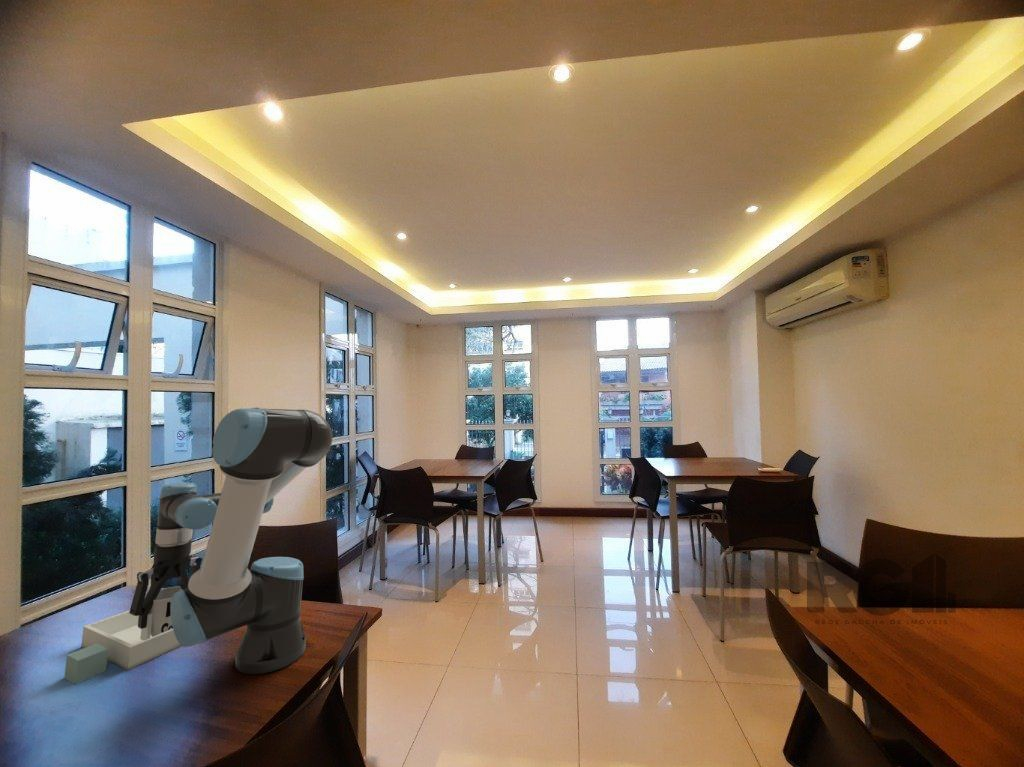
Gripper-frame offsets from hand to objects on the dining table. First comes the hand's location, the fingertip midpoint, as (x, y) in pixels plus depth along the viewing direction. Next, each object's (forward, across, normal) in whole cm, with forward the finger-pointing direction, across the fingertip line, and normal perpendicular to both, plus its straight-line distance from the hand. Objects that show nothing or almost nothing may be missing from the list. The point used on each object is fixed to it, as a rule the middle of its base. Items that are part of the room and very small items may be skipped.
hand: (164, 631), depth 103 cm
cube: (+3, +14, -1) cm, 15 cm away
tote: (+3, 0, -5) cm, 6 cm away
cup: (0, 0, 0) cm, 0 cm away
